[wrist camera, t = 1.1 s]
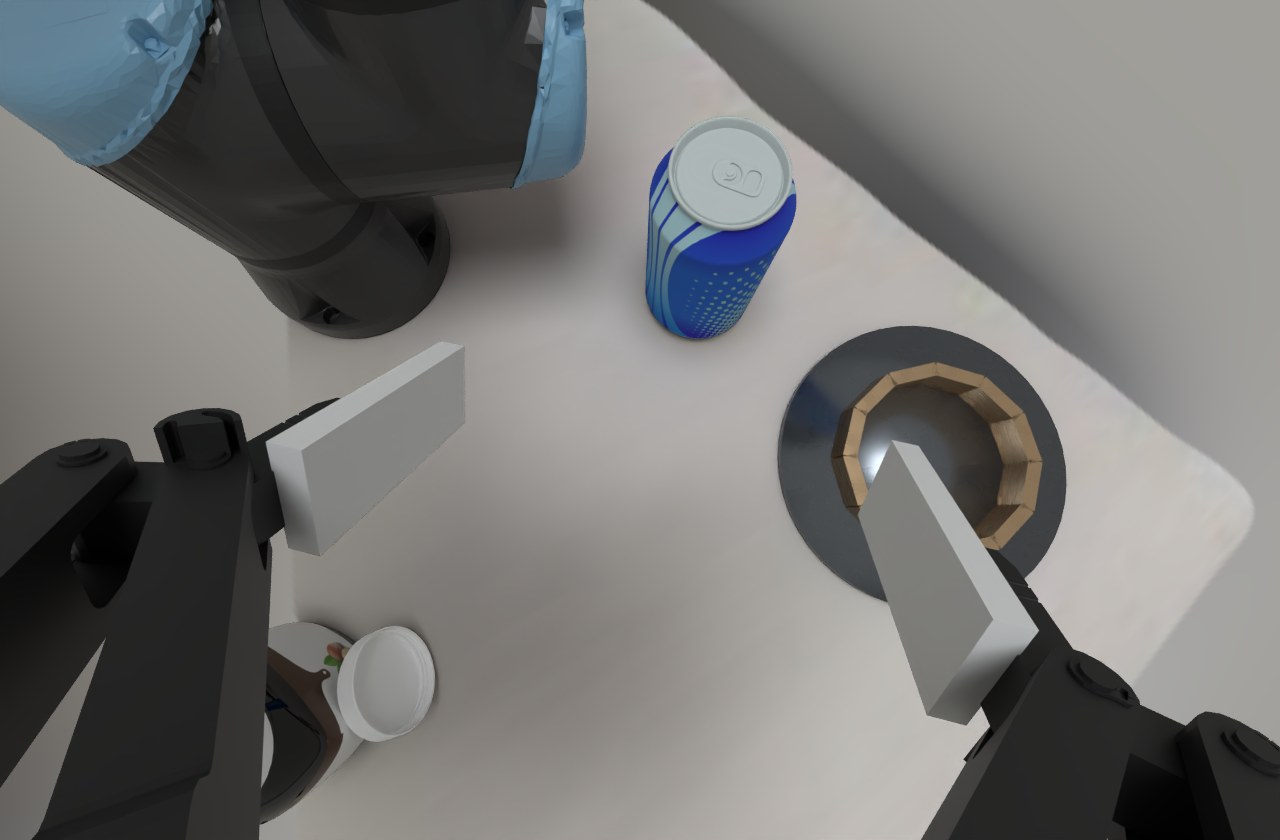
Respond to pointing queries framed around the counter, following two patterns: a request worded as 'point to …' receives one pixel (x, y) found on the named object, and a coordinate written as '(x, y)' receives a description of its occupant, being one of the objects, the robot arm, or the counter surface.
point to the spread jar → (335, 702)
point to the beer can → (716, 223)
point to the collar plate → (920, 444)
